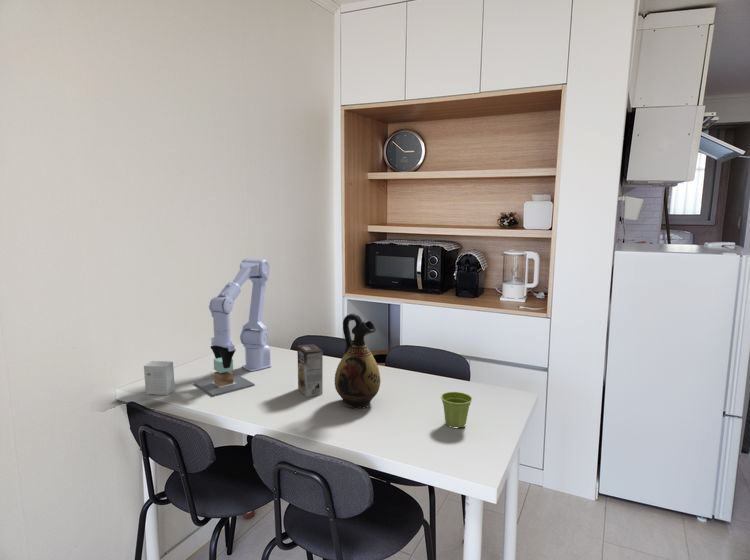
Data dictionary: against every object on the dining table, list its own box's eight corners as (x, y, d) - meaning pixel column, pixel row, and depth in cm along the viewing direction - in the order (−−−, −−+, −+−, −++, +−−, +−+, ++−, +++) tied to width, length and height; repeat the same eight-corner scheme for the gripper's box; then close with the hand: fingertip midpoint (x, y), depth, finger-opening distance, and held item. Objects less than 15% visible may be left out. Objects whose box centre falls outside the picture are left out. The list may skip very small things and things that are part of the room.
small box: (175, 389, 177) (173, 361, 175) (167, 395, 171) (165, 366, 170) (154, 388, 178) (152, 360, 176) (145, 394, 172) (143, 365, 171)
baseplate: (234, 374, 193) (234, 372, 193) (254, 385, 182) (254, 383, 181) (194, 384, 183) (193, 382, 182) (212, 396, 171) (212, 394, 171)
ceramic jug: (389, 400, 169) (390, 314, 164) (362, 416, 156) (363, 323, 152) (349, 389, 178) (349, 308, 174) (321, 403, 166) (320, 316, 161)
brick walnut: (227, 379, 185) (226, 369, 185) (233, 383, 182) (233, 372, 181) (214, 382, 182) (214, 372, 181) (220, 386, 178) (220, 375, 178)
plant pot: (444, 415, 157) (444, 389, 156) (473, 420, 154) (474, 394, 152) (436, 428, 149) (437, 400, 147) (468, 433, 145) (469, 405, 144)
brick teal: (226, 366, 185) (226, 356, 184) (233, 370, 181) (232, 359, 180) (214, 369, 181) (213, 359, 181) (220, 373, 178) (219, 362, 177)
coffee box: (297, 388, 179) (296, 345, 176) (314, 385, 182) (313, 343, 179) (305, 397, 171) (305, 352, 168) (323, 394, 174) (322, 349, 171)
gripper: (202, 327, 181) (204, 363, 184) (220, 335, 171) (222, 373, 173) (221, 324, 186) (222, 359, 188) (239, 332, 176) (240, 369, 178)
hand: (223, 365), depth 181 cm, fingers closed on brick teal, 5 cm apart
